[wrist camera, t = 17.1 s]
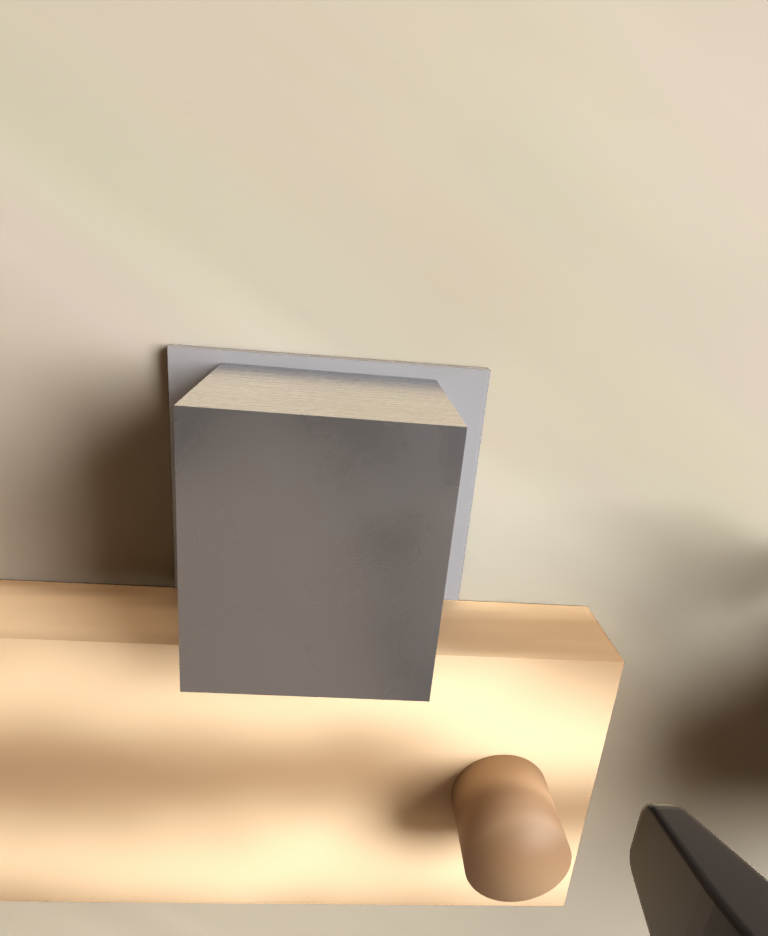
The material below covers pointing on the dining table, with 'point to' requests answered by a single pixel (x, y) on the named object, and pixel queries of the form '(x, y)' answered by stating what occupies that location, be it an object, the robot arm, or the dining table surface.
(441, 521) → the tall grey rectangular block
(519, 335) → the dining table surface
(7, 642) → the body
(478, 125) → the dining table surface
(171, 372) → the pad
